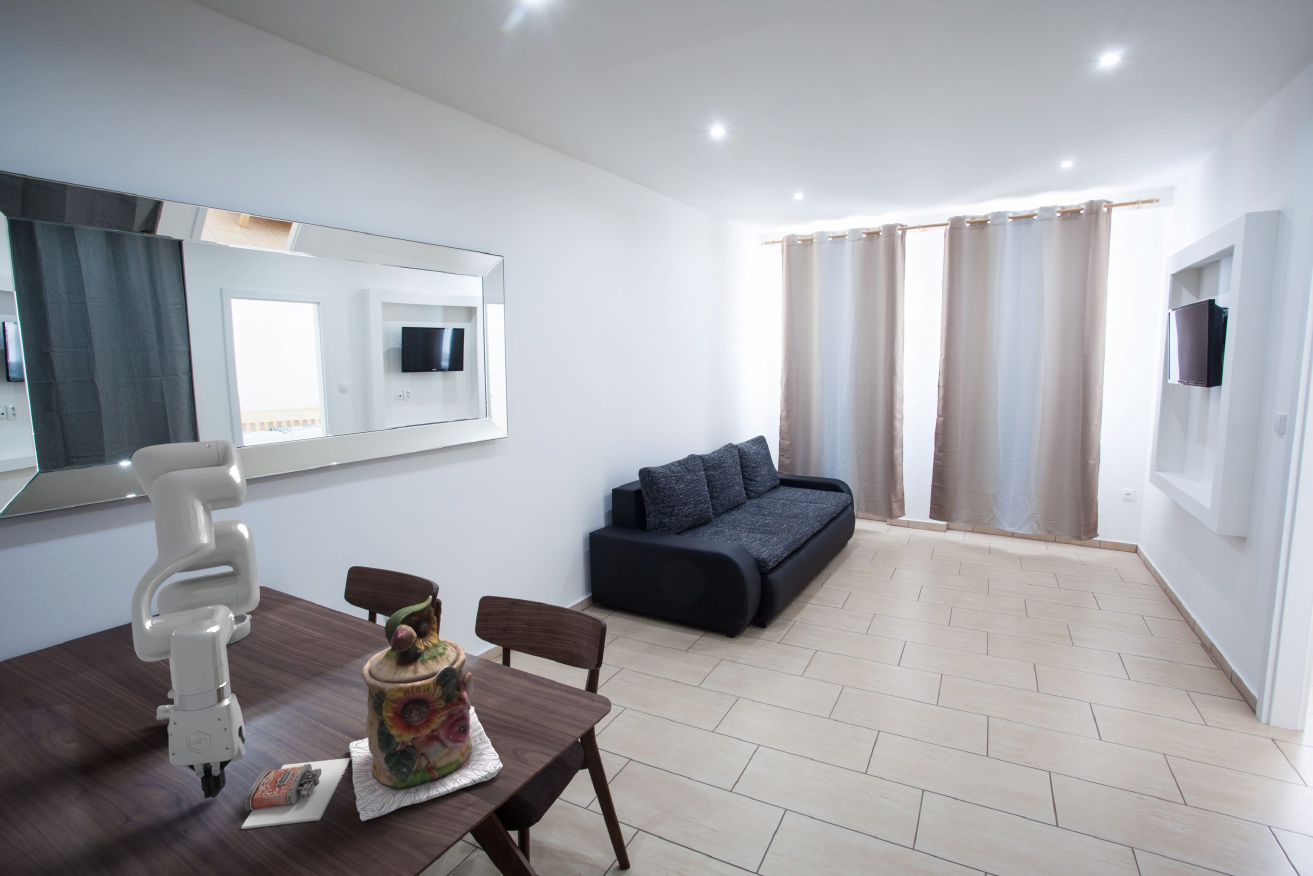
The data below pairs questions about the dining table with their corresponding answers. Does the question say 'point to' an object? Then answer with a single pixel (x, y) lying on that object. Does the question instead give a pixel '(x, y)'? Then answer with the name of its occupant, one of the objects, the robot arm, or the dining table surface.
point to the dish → (240, 627)
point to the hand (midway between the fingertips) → (214, 792)
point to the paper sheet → (303, 807)
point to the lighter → (282, 786)
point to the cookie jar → (418, 720)
